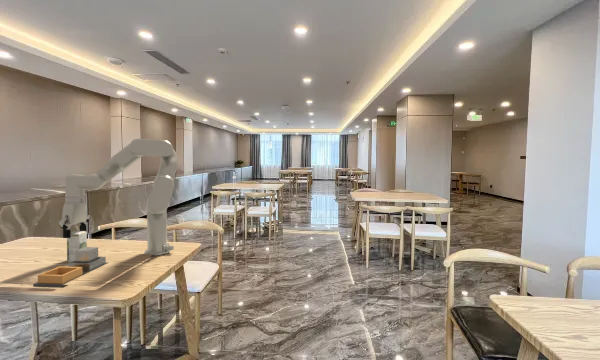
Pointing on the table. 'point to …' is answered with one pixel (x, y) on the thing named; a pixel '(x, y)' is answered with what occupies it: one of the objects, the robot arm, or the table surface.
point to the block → (86, 255)
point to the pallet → (67, 273)
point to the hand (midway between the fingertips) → (75, 235)
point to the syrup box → (75, 243)
